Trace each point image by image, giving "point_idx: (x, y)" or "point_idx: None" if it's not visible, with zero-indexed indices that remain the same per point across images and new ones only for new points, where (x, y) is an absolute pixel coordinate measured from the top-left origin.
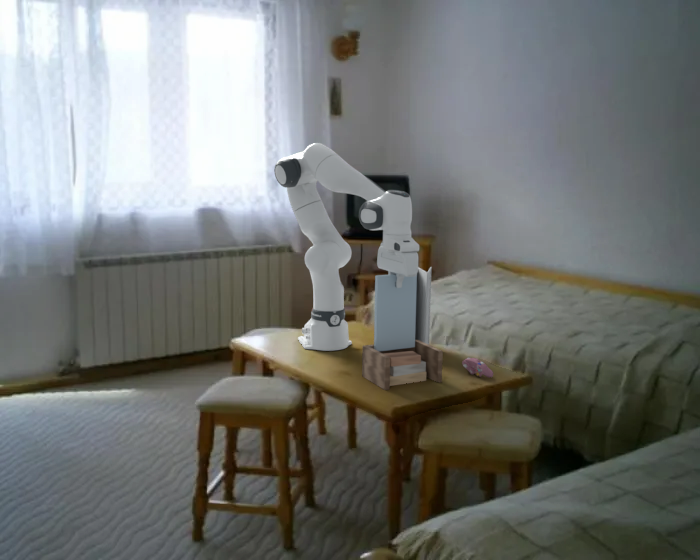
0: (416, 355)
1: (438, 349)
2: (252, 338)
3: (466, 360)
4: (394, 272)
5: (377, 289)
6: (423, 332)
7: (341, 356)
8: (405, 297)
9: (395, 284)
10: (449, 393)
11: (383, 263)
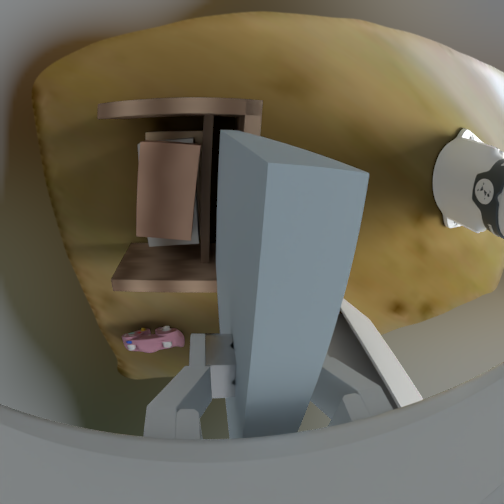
0: (143, 226)
1: (129, 289)
2: None
3: (160, 337)
4: (199, 443)
5: (238, 142)
6: (331, 341)
7: (402, 156)
8: None
9: (219, 346)
10: (67, 228)
11: (486, 429)
